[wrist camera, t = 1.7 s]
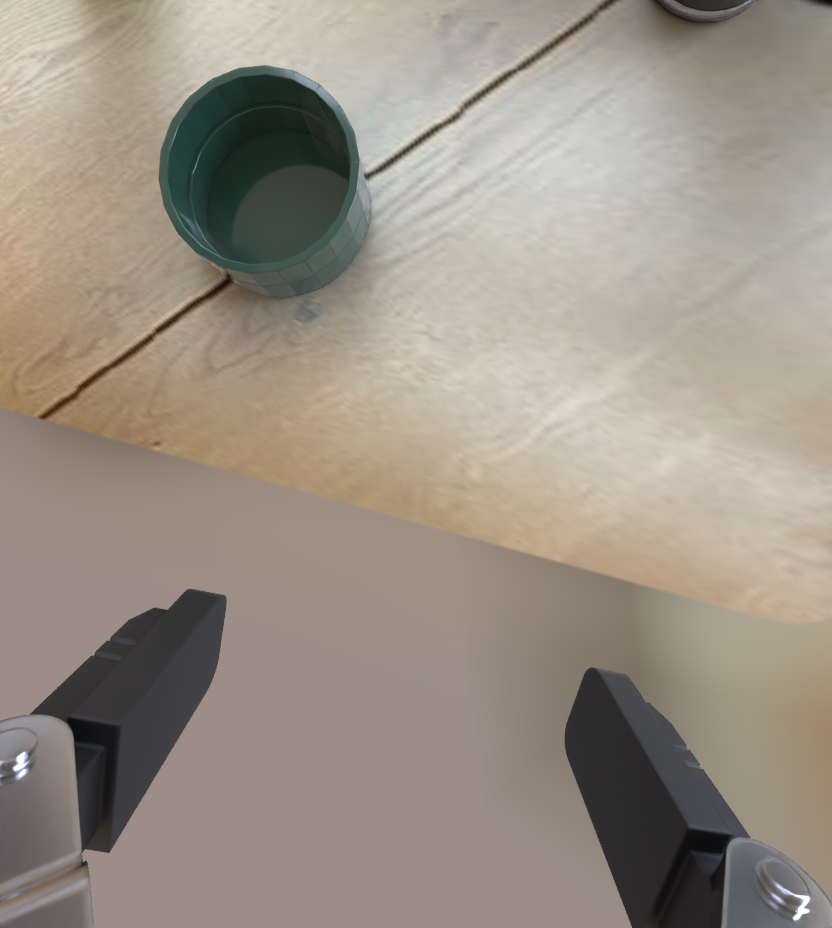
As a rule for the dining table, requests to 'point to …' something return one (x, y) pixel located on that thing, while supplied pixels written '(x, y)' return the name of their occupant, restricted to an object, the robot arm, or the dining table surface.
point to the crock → (266, 181)
